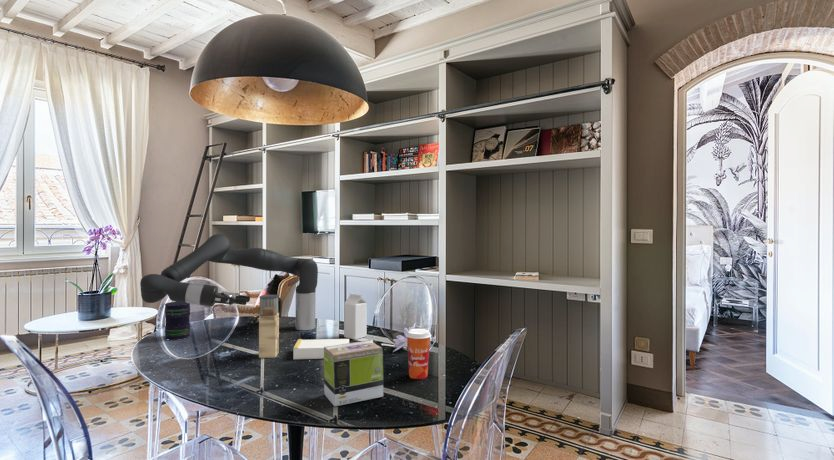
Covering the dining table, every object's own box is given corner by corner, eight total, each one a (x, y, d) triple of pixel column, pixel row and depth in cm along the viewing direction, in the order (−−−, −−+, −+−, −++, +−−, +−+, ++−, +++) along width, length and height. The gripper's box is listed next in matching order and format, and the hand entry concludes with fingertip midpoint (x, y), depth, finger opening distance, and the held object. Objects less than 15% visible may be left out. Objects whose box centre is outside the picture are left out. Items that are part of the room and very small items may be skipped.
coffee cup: (403, 379, 143) (404, 333, 143) (407, 371, 151) (408, 327, 151) (429, 381, 142) (430, 334, 141) (432, 372, 150) (432, 328, 150)
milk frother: (275, 328, 209) (276, 297, 209) (242, 328, 209) (242, 297, 208) (283, 322, 223) (283, 292, 223) (252, 322, 223) (252, 292, 223)
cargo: (264, 317, 169) (264, 307, 169) (275, 317, 170) (275, 307, 170) (262, 319, 165) (262, 309, 165) (273, 319, 166) (273, 309, 166)
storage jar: (162, 337, 193) (162, 302, 193) (186, 333, 199) (186, 300, 199) (168, 341, 185) (167, 306, 185) (193, 337, 192) (193, 303, 192)
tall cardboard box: (262, 353, 171) (262, 313, 170) (278, 352, 171) (278, 312, 171) (259, 357, 165) (259, 316, 164) (275, 357, 165) (275, 316, 165)
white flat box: (298, 349, 175) (298, 339, 175) (349, 348, 177) (349, 338, 177) (293, 359, 163) (293, 347, 163) (348, 357, 165) (348, 346, 165)
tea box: (370, 386, 137) (370, 339, 137) (383, 397, 128) (384, 347, 128) (323, 395, 130) (323, 345, 130) (333, 407, 121) (333, 354, 121)
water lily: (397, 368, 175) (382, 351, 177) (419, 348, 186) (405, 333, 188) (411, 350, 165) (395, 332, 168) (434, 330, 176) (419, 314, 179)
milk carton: (355, 340, 190) (355, 296, 190) (343, 337, 195) (344, 294, 194) (366, 336, 196) (366, 294, 196) (355, 334, 200) (355, 292, 200)
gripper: (199, 286, 154) (247, 292, 158) (208, 282, 168) (252, 288, 171) (194, 307, 153) (243, 313, 157) (204, 302, 167) (248, 308, 171)
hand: (248, 300), depth 164 cm, fingers open, 8 cm apart
